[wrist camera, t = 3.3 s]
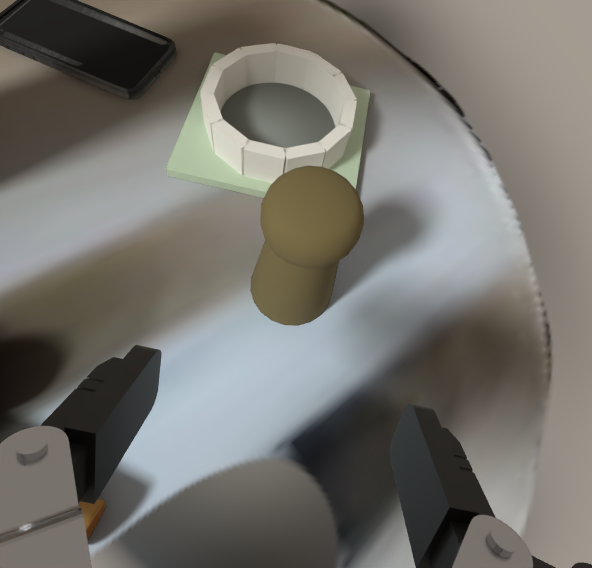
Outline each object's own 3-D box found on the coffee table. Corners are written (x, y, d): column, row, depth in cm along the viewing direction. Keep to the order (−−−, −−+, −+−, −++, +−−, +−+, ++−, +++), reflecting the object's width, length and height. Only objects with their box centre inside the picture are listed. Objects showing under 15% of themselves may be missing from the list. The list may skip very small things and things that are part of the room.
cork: (291, 235, 29) (316, 126, 19) (348, 288, 28) (406, 203, 18) (232, 283, 27) (224, 189, 17) (291, 343, 26) (320, 282, 15)
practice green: (167, 175, 29) (156, 140, 26) (215, 60, 35) (211, 18, 32) (349, 217, 30) (363, 188, 27) (368, 97, 36) (380, 60, 32)
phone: (37, -16, 35) (179, 42, 34) (43, -3, 36) (181, 53, 35) (-23, 30, 32) (131, 96, 31) (-15, 43, 33) (135, 106, 32)
